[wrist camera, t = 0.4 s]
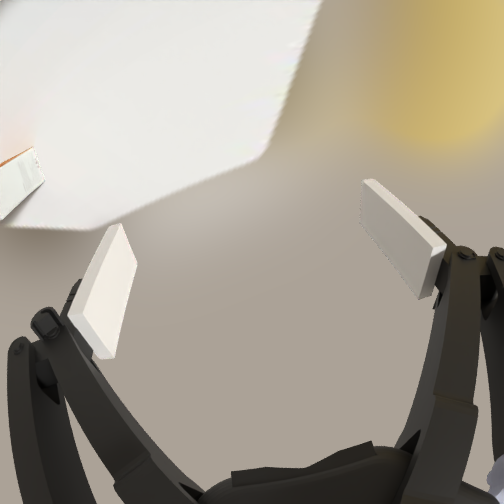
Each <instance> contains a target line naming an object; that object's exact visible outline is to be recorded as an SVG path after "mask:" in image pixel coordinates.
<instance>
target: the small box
mask: <svg viewBox="0 0 504 504" xmlns="http://www.w3.org/2000/svg"><path fill="white" fill-rule="evenodd" d="M43 182H45V178H44V175H43V172H42V169H41V167H40V164H39V161H38V157H37V155H36V151H35V148H34V147H31V148H29V149H28V150H26V151H24V152H22V153H20V154H18V155H16V156H14V157H12V158H10V159H8V160H6V161H4V162H3V163H1V164H0V220H3V219H4V218H5V217H6V216H7V215H8V214H9V213H10V212H11V211H12V210H13V209H14V208H15V207H16V206H18V205H19V204H20V203H21V202H22V201H23V200H24V199H25V198H26V197H27V196H28V195H29V194H30V193H31V192H33V191H34V190H35V189H36V188H37V187H39V186H40V185H41V184H42V183H43Z"/></svg>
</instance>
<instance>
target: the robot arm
mask: <svg viewBox="0 0 504 504" xmlns="http://www.w3.org/2000/svg"><path fill="white" fill-rule="evenodd" d="M361 186H362V187H361V208H360V224H361V225H362V227H363V228H364V229H365V230H366V232H367V233H368V234H369V235H370V237H371V238H372V239H373V240H374V242H375V243H376V244H377V245H378V246H379V248H380V249H381V250H382V252H383V253H384V254H385V256H386V257H387V258H388V260H389V261H390V262H391V263H392V265H393V266H394V267H395V269H396V270H397V271H398V273H399V274H400V275H401V277H402V278H403V280H404V281H405V282H406V284H407V285H408V286H409V288H410V289H411V291H412V292H413V293H414V295H415V296H416V298H417V299H418V300H419V299H422V298H425V297H428V296H431V295H432V292H433V289H434V286H436V287H437V289H438V290H439V293H438V295H437V298H436V301H435V304H434V306H433V309H435V313H434V319H433V325H432V330H431V335H430V340H429V344H428V349H427V353H426V358H425V362H424V366H423V370H422V374H421V377H420V381H419V385H418V388H417V392H416V395H415V398H414V401H413V405H412V408H411V411H410V414H409V417H408V419H407V422H406V425H405V428H404V430H403V432H402V434H401V435H400V437H399V439H398V441H397V443H396V445H395V447H394V448H393V447H386V446H373V444H372V441H369V442H366V443H363V444H360V445H357V446H353V447H350V448H347V449H344V450H340V451H338V452H336V453H334V454H332V455H330V456H328V457H327V458H325V459H323V460H321V461H319V462H317V463H315V464H313V465H311V466H309V467H306V468H274V467H263V468H257V469H248V470H241V471H231V478H229V479H226V480H224V481H222V482H219V483H218V484H216V485H214V486H213V487H211V488H210V489H209V490H207V491H206V492H205V491H204V490H203V489H201V488H200V487H199V486H198V485H197V484H196V483H195V482H193V481H192V480H191V479H189V478H188V477H187V476H186V475H185V474H184V473H183V472H181V470H180V469H179V468H178V467H177V466H175V464H174V463H173V462H172V461H171V460H170V459H169V458H168V457H167V456H166V455H165V454H164V453H163V451H162V450H161V449H160V448H159V447H158V446H157V445H156V444H155V442H154V441H153V440H152V439H151V438H150V437H149V435H148V434H147V433H146V432H145V431H144V429H143V428H142V427H141V426H140V425H139V423H138V422H137V421H136V420H135V418H134V417H133V416H132V415H131V413H130V412H129V411H128V410H127V408H126V407H125V406H124V404H123V403H122V401H121V400H120V399H119V397H118V396H117V394H116V393H115V392H114V390H113V389H112V387H111V386H110V385H109V383H108V382H107V380H106V379H105V377H104V376H103V374H102V373H101V371H100V370H99V368H98V367H97V365H96V364H95V362H94V361H93V360H92V354H93V351H94V353H95V354H96V355H97V356H98V358H99V359H110V358H114V357H115V353H116V348H117V343H118V339H119V334H120V330H121V325H122V321H123V317H124V313H125V309H126V305H127V301H128V297H129V293H130V289H131V285H132V282H133V279H134V275H135V271H136V268H137V265H138V264H137V261H136V259H135V256H134V254H133V252H132V249H131V247H130V245H129V242H128V239H127V237H126V234H125V232H124V229H123V227H122V224H121V223H120V224H116V225H112V226H109V227H108V229H107V231H106V233H105V235H104V237H103V239H102V240H101V242H100V244H99V246H98V248H97V250H96V252H95V254H94V256H93V258H92V260H91V263H90V265H89V267H88V269H87V271H86V273H85V275H84V277H83V279H79V280H78V281H77V282H76V283H75V285H74V286H73V287H72V289H71V292H70V294H69V296H68V298H67V302H66V303H65V305H64V307H63V310H62V312H61V314H60V316H59V315H58V314H57V312H56V311H55V309H53V307H46V308H43V309H41V310H40V311H39V312H37V313H36V314H35V316H34V317H33V318H32V321H31V329H32V330H33V331H34V332H35V334H36V335H37V336H38V337H39V339H40V340H38V341H35V342H33V343H31V342H30V341H29V340H28V339H27V338H26V337H23V336H22V337H19V338H17V339H16V340H14V341H13V342H12V344H11V346H10V348H9V350H8V363H7V396H8V416H9V428H10V437H11V445H12V452H13V458H14V464H15V469H16V475H17V480H18V484H19V488H20V493H21V496H22V500H23V504H97V503H96V501H95V499H94V496H93V494H92V491H91V488H90V486H89V484H88V480H87V478H86V475H85V472H84V469H83V466H82V463H81V460H80V457H79V454H78V451H77V447H76V443H75V440H74V437H73V432H72V428H71V425H70V420H69V416H68V412H67V408H66V403H65V398H66V400H67V402H68V403H69V406H70V408H71V410H72V411H73V413H74V415H75V417H76V419H77V421H78V423H79V424H80V426H81V428H82V430H83V431H84V433H85V435H86V437H87V438H88V440H89V442H90V443H91V445H92V447H93V448H94V450H95V451H96V453H97V454H98V456H99V457H100V459H101V461H102V462H103V464H104V465H105V467H106V468H107V469H108V471H109V472H110V474H111V475H112V477H113V478H114V480H115V483H114V485H113V486H114V489H115V491H116V492H117V494H118V496H119V497H120V498H121V500H122V501H123V502H124V503H125V504H504V249H503V248H499V247H492V248H491V249H490V251H489V254H488V256H477V254H476V253H475V252H474V251H473V250H472V249H470V248H468V247H465V246H456V245H455V244H453V242H452V241H451V240H450V239H449V238H448V237H446V236H445V235H444V234H443V233H442V232H441V231H440V230H439V229H438V228H437V227H435V225H434V224H433V223H431V222H430V221H429V220H428V219H426V218H424V217H422V216H417V215H416V214H415V213H413V212H412V211H411V210H410V209H409V208H408V207H407V206H406V205H404V204H403V203H402V202H401V201H400V200H399V199H397V198H396V197H395V196H394V195H393V194H392V193H390V192H389V191H388V190H387V189H386V188H384V187H383V186H382V185H381V184H380V183H378V182H377V181H376V180H375V179H366V180H362V185H361ZM480 332H481V336H482V341H483V347H484V353H485V359H486V366H487V373H488V381H489V390H490V402H491V419H492V445H493V455H494V461H495V463H494V465H493V467H492V470H491V471H490V472H489V474H488V475H487V483H488V484H489V485H490V489H489V491H488V492H485V491H483V490H481V489H479V488H476V487H474V486H472V485H470V484H468V483H466V482H464V481H462V477H463V474H464V471H465V467H466V464H467V461H468V457H469V454H470V450H471V446H472V442H473V438H474V433H475V428H476V424H477V418H478V407H477V406H476V405H474V404H473V397H474V391H475V384H476V376H477V367H478V356H479V343H480ZM64 396H65V398H64Z"/></svg>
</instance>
